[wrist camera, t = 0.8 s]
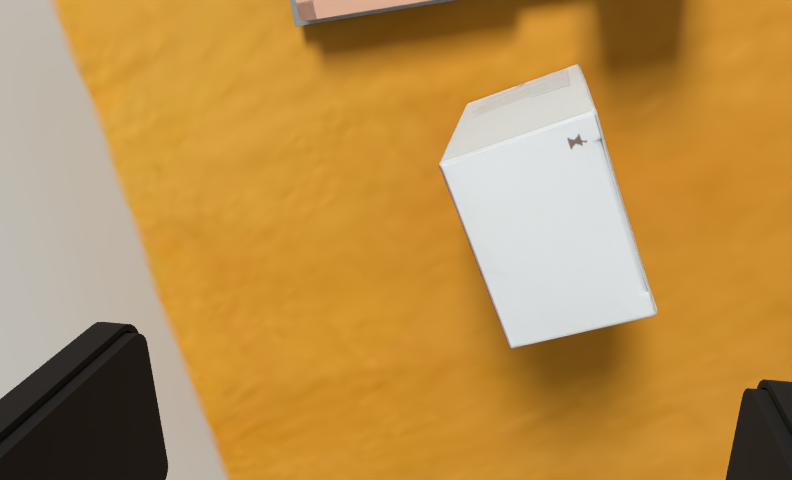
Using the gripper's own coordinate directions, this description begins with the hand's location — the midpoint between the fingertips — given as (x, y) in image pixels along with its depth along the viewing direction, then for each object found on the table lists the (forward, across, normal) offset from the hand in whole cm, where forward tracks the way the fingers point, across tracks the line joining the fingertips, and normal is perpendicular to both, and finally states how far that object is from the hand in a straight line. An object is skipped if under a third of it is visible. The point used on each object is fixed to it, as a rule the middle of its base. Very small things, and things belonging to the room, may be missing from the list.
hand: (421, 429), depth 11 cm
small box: (+25, -2, +2) cm, 25 cm away
